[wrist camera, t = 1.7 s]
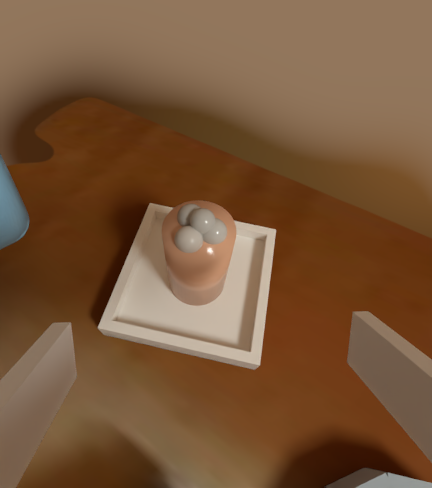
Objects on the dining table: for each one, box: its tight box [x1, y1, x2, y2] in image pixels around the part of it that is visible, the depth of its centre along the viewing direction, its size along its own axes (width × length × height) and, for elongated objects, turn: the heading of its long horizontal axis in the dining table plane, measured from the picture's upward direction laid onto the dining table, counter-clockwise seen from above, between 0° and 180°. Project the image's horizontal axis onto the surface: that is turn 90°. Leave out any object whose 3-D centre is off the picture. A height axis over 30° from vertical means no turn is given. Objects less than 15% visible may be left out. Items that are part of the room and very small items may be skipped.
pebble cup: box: [162, 201, 237, 306], centre depth 29 cm, size 6×6×12 cm
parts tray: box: [98, 203, 276, 370], centre depth 34 cm, size 16×16×2 cm
